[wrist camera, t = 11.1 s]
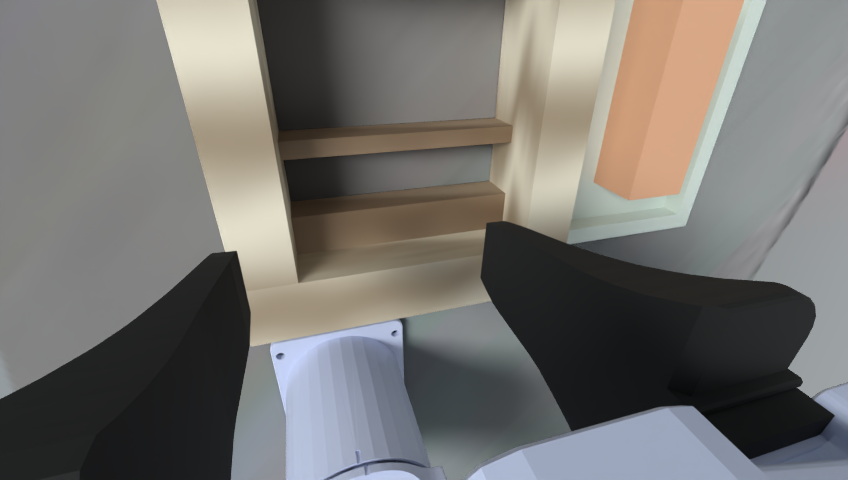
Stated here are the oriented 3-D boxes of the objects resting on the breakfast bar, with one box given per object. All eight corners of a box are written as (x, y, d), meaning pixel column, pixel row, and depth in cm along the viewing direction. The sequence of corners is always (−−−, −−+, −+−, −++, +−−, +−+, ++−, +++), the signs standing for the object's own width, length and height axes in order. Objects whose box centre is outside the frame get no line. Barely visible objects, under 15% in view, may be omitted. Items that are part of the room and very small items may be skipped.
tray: (664, 215, 28) (685, 225, 27) (526, 235, 26) (541, 248, 24) (754, -64, 21) (791, -70, 19) (573, -78, 18) (599, -88, 16)
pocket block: (518, 249, 26) (557, 288, 22) (257, 290, 22) (251, 346, 18) (569, -123, 17) (649, -165, 13) (146, -172, 13) (88, -251, 9)
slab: (640, 176, 25) (679, 193, 23) (593, 182, 24) (628, 200, 22) (691, -9, 20) (748, -13, 18) (636, -11, 20) (687, -15, 17)
